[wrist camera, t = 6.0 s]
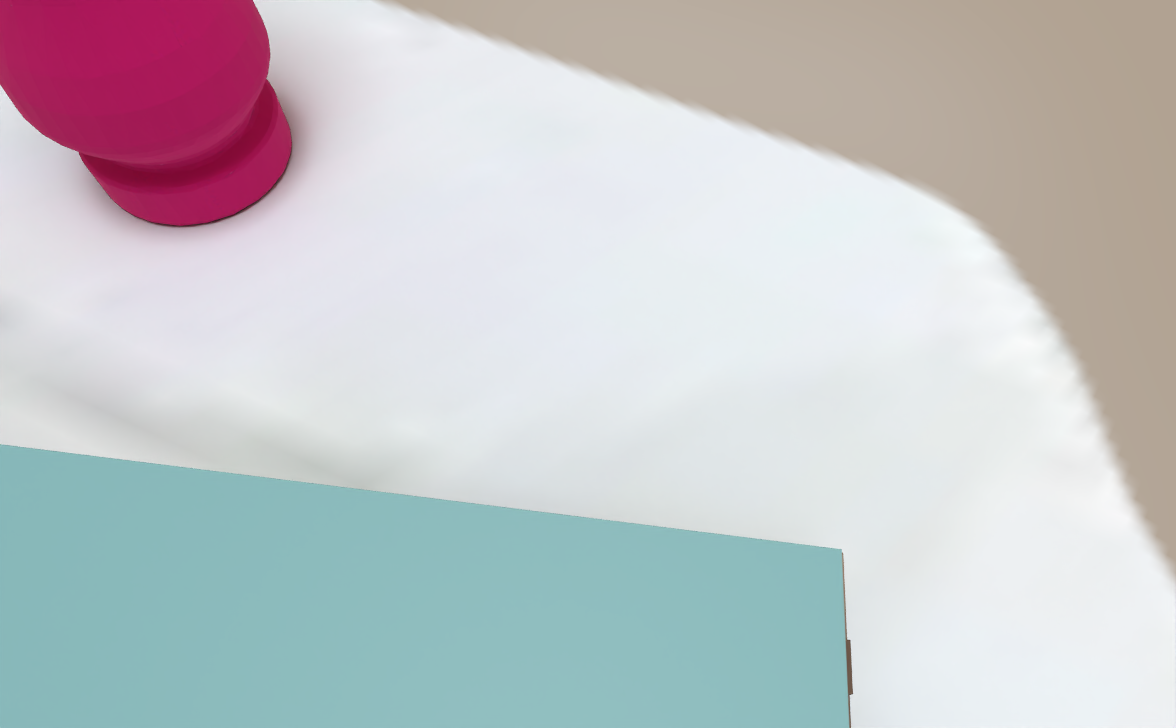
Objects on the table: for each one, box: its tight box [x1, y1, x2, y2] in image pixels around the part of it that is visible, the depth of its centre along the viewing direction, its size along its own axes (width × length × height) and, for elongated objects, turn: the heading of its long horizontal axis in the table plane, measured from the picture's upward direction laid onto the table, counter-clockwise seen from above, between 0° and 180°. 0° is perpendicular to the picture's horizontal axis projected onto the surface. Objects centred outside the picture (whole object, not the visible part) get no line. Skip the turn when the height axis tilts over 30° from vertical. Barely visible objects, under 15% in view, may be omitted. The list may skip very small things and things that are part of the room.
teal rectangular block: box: [0, 444, 849, 728], centre depth 11 cm, size 2×6×14 cm, turn 84°
